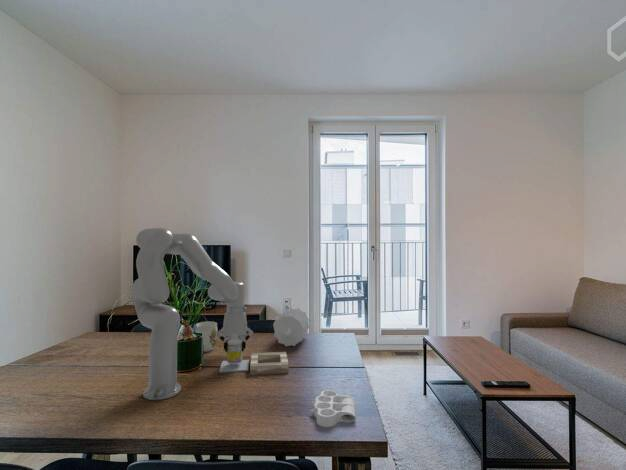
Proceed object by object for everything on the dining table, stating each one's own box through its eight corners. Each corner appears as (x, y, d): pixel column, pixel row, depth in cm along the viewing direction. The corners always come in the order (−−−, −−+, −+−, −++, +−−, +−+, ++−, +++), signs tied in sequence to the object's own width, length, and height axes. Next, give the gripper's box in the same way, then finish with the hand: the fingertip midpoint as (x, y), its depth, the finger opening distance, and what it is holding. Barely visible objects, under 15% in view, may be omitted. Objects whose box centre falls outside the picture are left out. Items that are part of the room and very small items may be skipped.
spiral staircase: (302, 342, 193) (295, 355, 169) (276, 328, 196) (265, 338, 171) (316, 314, 194) (310, 323, 169) (289, 301, 196) (280, 307, 171)
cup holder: (288, 372, 139) (288, 364, 139) (250, 374, 136) (250, 366, 137) (286, 359, 155) (286, 351, 155) (251, 360, 152) (251, 353, 152)
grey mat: (248, 371, 140) (248, 369, 140) (219, 372, 138) (219, 371, 139) (249, 361, 152) (249, 359, 152) (222, 362, 150) (222, 360, 150)
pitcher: (225, 344, 176) (226, 318, 176) (207, 355, 159) (207, 327, 159) (207, 343, 179) (207, 317, 179) (187, 353, 161) (187, 325, 162)
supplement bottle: (230, 359, 149) (231, 330, 149) (244, 360, 148) (245, 331, 148) (224, 364, 142) (224, 334, 143) (238, 365, 141) (239, 335, 142)
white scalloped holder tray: (355, 430, 97) (306, 426, 99) (354, 401, 115) (313, 398, 117) (355, 418, 98) (306, 415, 99) (354, 391, 115) (313, 389, 117)
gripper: (255, 308, 151) (254, 347, 150) (216, 308, 148) (215, 348, 148) (254, 311, 143) (254, 352, 143) (213, 312, 141) (213, 354, 140)
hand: (234, 350), depth 145 cm, fingers closed on supplement bottle, 6 cm apart
